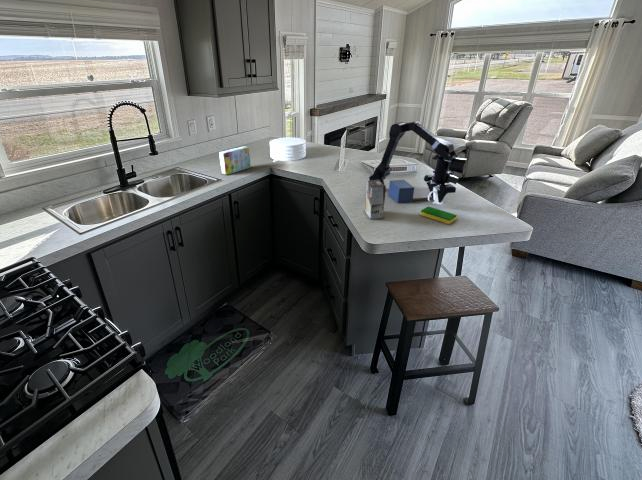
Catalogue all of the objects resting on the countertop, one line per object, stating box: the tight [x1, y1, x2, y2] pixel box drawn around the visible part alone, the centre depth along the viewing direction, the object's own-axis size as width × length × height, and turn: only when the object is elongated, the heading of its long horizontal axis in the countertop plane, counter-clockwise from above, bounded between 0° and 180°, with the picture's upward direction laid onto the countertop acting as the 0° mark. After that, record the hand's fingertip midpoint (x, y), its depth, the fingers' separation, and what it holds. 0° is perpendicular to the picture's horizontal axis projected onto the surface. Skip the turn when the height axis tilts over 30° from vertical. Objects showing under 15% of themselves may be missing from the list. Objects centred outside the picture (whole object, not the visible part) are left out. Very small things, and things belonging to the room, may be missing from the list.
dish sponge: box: [419, 205, 458, 225], centre depth 152 cm, size 7×14×2 cm, turn 41°
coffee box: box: [364, 180, 387, 220], centre depth 153 cm, size 9×6×16 cm
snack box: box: [218, 145, 252, 176], centre depth 223 cm, size 21×6×15 cm, turn 134°
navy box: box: [388, 179, 434, 204], centre depth 173 cm, size 25×13×8 cm, turn 97°
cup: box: [427, 186, 448, 206], centre depth 160 cm, size 7×10×8 cm
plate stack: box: [269, 136, 307, 162], centre depth 255 cm, size 28×28×12 cm
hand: (436, 199), depth 161 cm, fingers closed on cup, 6 cm apart
